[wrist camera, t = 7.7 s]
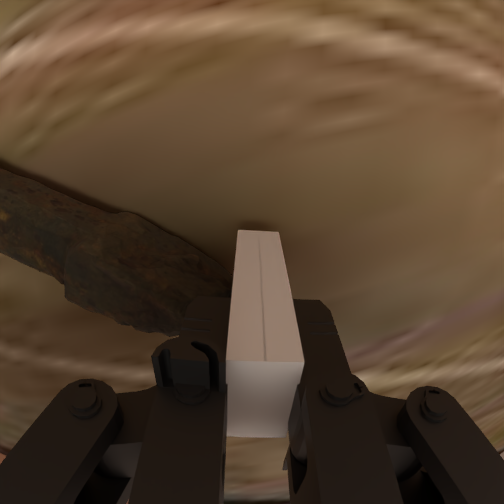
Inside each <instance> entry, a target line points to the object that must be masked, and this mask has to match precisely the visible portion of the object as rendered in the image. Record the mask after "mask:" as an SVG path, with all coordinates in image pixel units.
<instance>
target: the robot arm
mask: <svg viewBox="0 0 504 504" xmlns="http://www.w3.org/2000/svg"><path fill="white" fill-rule="evenodd" d="M151 357H152V363H153V368H154V373H155V378H156V383H157V385H156V386H154V387H151V388H149V389H146V390H142V391H137V392H128V393H118V394H115V392H114V390H113V389H112V387H111V386H109V385H107V384H106V383H104V382H103V381H99V380H95V379H81V380H78V381H75V382H72V383H70V384H68V385H67V386H66V387H65V388H63V389H62V390H61V391H60V392H59V393H58V394H57V396H56V397H55V398H54V399H53V400H52V401H51V403H50V404H49V405H48V406H47V407H46V409H45V410H44V411H43V412H42V413H41V414H40V416H39V417H38V418H37V419H36V420H35V422H34V423H33V424H32V425H31V427H30V428H29V429H28V430H27V431H26V433H25V434H24V435H23V436H22V438H21V439H20V440H19V441H18V442H17V444H16V445H15V446H14V447H13V449H12V450H11V451H10V452H9V454H8V455H7V456H6V458H5V459H4V460H3V461H2V463H1V464H0V504H126V503H127V501H128V499H129V502H128V504H223V500H224V479H225V460H226V436H232V437H272V438H275V437H286V434H287V431H289V441H290V444H289V447H288V451H287V454H286V457H285V460H284V464H283V470H287V468H288V480H289V493H290V504H504V460H503V459H502V457H501V456H500V455H499V453H498V452H497V451H496V449H495V448H494V447H493V446H492V444H491V443H490V442H489V440H488V439H487V438H486V437H485V435H484V434H483V433H482V431H481V430H480V429H479V428H478V426H477V425H476V424H475V423H474V421H473V420H472V419H471V418H470V417H469V415H468V414H467V413H466V412H465V410H464V409H463V408H462V407H461V405H460V404H459V403H458V402H457V401H456V399H455V398H454V397H452V396H451V395H450V394H449V393H448V392H446V391H444V390H442V389H440V388H438V387H431V386H424V387H419V388H417V389H415V390H414V391H412V392H411V393H410V395H409V396H408V398H407V400H403V399H397V398H391V397H385V396H380V395H377V394H374V393H371V392H369V390H368V389H367V387H366V385H365V384H364V382H363V381H361V380H360V379H359V378H358V377H356V376H355V375H353V374H351V371H350V368H349V365H348V362H347V359H346V356H345V353H344V350H343V347H342V344H341V341H340V338H339V335H338V332H337V329H336V326H335V325H334V320H333V317H332V314H331V312H330V310H329V309H328V308H327V307H326V306H325V305H324V304H323V303H322V302H321V301H320V300H300V299H292V294H291V289H290V284H289V279H288V274H287V270H286V265H285V260H284V255H283V250H282V245H281V241H280V236H279V232H270V231H252V230H238V235H237V245H236V255H235V265H234V276H233V286H232V297H231V298H226V297H209V296H197V297H196V298H195V299H194V300H193V301H192V302H191V303H190V304H189V305H188V306H187V310H186V313H185V317H184V320H183V324H182V328H181V331H180V335H179V337H177V338H173V339H170V340H167V341H165V342H164V343H163V344H161V345H160V346H158V347H157V348H156V350H155V351H154V353H153V354H152V356H151ZM129 497H130V498H129Z"/></svg>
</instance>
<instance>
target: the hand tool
mask: <svg viewBox="0 0 504 504" xmlns="http://www.w3.org/2000/svg"><path fill="white" fill-rule="evenodd" d="M0 252H1V253H3V254H5V255H7V256H9V257H11V258H13V259H15V260H17V261H19V262H21V263H23V264H25V265H28V266H30V267H32V268H34V269H36V270H39V271H41V272H43V273H46V274H48V275H51V276H53V277H54V278H55V279H56V280H58V281H59V282H60V283H61V284H64V286H65V298H66V299H67V300H68V301H70V302H72V303H75V304H77V305H79V306H81V307H82V308H84V309H86V310H89V311H91V312H96V313H100V314H103V315H105V316H107V317H110V318H113V319H114V320H115V321H116V322H117V323H118V324H121V325H132V326H133V327H134V328H135V330H139V331H143V332H147V333H152V332H159V333H162V334H165V335H167V336H169V337H170V336H176V335H180V331H181V328H182V324H183V320H184V317H185V313H186V310H187V306H188V305H189V304H190V303H191V302H192V301H193V300H194V299H195V298H196V297H197V296H209V297H226V298H231V297H232V286H233V276H232V274H230V273H229V272H228V271H227V270H226V269H225V268H224V267H222V266H221V265H219V264H218V263H217V262H216V261H214V260H213V259H211V258H209V257H208V256H206V255H205V254H203V253H202V252H201V251H199V250H197V249H196V248H194V247H193V246H191V245H190V244H188V243H187V242H185V241H183V240H182V239H180V238H178V237H177V236H173V235H170V234H168V233H166V232H165V231H163V230H161V229H160V228H158V227H157V226H155V225H153V224H151V223H150V222H148V221H146V220H144V219H143V218H141V217H139V216H138V215H135V214H133V213H130V212H120V213H118V214H113V213H109V212H105V211H103V210H100V209H98V208H96V207H93V206H90V205H87V204H84V203H82V202H80V201H77V200H75V199H73V198H71V197H69V196H66V195H64V194H62V193H60V192H57V191H55V190H52V189H49V188H48V187H46V186H45V185H43V184H41V183H39V182H37V181H35V180H32V179H30V178H26V177H21V176H18V175H16V174H13V173H11V172H9V171H7V170H4V169H2V168H0Z"/></svg>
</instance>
